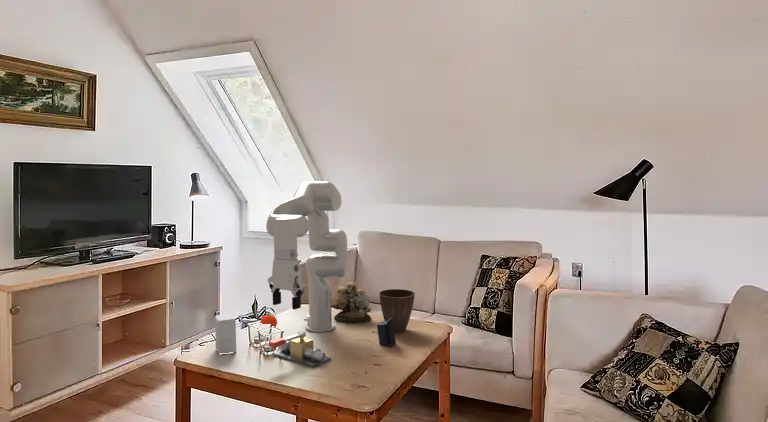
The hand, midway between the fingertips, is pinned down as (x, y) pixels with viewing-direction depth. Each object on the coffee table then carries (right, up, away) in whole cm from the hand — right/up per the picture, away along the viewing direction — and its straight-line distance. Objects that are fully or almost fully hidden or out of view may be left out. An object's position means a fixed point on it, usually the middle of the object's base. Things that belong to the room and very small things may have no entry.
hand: (286, 306), depth 175 cm
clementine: (-16, -19, +48) cm, 54 cm away
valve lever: (-1, -14, +9) cm, 17 cm away
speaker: (+33, -20, +29) cm, 49 cm away
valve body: (+3, -21, +15) cm, 26 cm away
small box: (-27, -21, +22) cm, 40 cm away
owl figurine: (+18, -18, +63) cm, 68 cm away
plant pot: (+38, -19, +47) cm, 63 cm away
